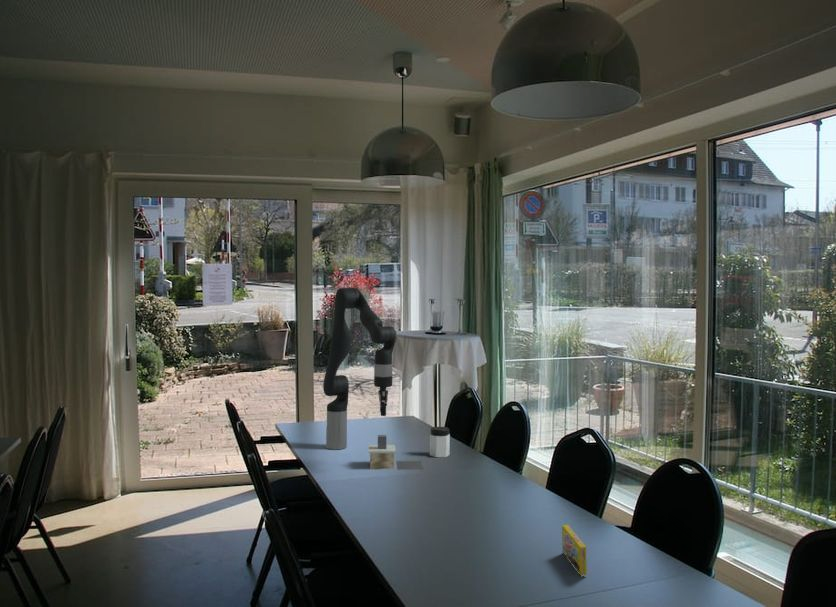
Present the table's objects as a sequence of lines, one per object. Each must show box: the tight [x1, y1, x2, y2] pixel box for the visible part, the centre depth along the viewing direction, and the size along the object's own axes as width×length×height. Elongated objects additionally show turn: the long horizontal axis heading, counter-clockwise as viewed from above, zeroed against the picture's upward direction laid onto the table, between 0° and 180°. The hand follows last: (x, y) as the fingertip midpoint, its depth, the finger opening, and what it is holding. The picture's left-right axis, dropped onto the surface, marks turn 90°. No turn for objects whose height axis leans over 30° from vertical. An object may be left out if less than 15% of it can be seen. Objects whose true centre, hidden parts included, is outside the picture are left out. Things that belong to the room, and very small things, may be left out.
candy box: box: [561, 524, 587, 575], centre depth 190 cm, size 16×2×8 cm, turn 5°
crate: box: [369, 453, 395, 470], centre depth 288 cm, size 10×10×7 cm
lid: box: [368, 434, 397, 454], centre depth 287 cm, size 11×11×7 cm
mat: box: [396, 460, 424, 470], centre depth 289 cm, size 10×13×1 cm
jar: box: [429, 426, 451, 458], centre depth 307 cm, size 9×8×12 cm
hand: (382, 413), depth 287 cm, fingers open, 8 cm apart
